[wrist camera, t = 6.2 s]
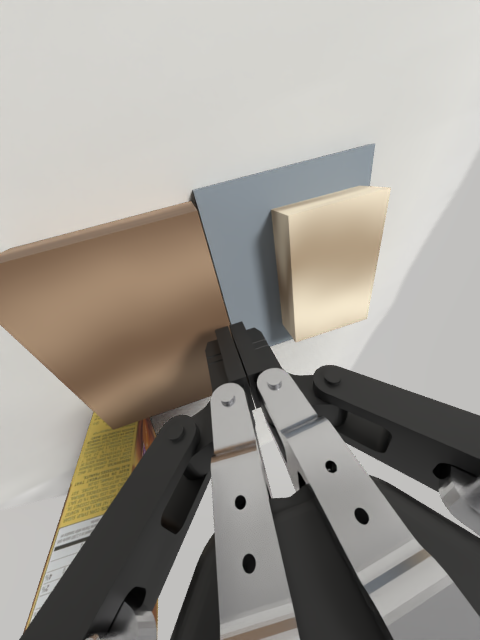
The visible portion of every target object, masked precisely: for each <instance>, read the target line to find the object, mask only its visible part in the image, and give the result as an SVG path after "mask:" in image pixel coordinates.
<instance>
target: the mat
mask: <svg viewBox="0 0 480 640" xmlns="http://www.w3.org/2000/svg"><path fill="white" fill-rule="evenodd" d="M374 148H375V144H369V145H365V146H361V147H357V148H353V149H349V150H345V151H342V152H338V153H334V154H330V155H326V156H322V157H318V158H315V159H311V160H307V161H303V162H299V163H295V164H291V165H287V166H284V167H280V168H276V169H272V170H268V171H264V172H260V173H257V174H253V175H249V176H245V177H241V178H237V179H233V180H229V181H226V182H222V183H218V184H214V185H210V186H206V187H202V188H199V189H195V190H193V194H194V197H195V201H196V204H197V208H198V211H199V215H200V218H201V222H202V225H203V229H204V232H205V236H206V239H207V243H208V246H209V250H210V253H211V257H212V260H213V264H214V267H215V271H216V274H217V278H218V281H219V285H220V288H221V292H222V295H223V299H224V302H225V306H226V309H227V313H228V316H229V320H230V323H231V324H235V323H238V322H241V321H242V322H243V324H244V326H245V328H246V330H248V329H251V328H254V327H255V328H256V329H258V330H259V331H261V332H262V334H263V336H264V337H265V340H266V341H267V343H268V345H269V346H273V345H276V344H279V343H282V342H285V341H288V340H291V339H293V338H292V336H291V335H290V334H289V332H288V331H287V330H286V328H285V327H284V325H283V324H282V314H281V304H280V294H279V284H278V274H277V264H276V254H275V244H274V234H273V224H272V214H271V209H274V208H278V207H282V206H286V205H289V204H293V203H297V202H300V201H304V200H308V199H312V198H315V197H319V196H323V195H326V194H330V193H334V192H338V191H341V190H345V189H349V188H353V187H356V186H370V179H371V172H372V164H373V156H374Z"/></svg>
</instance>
